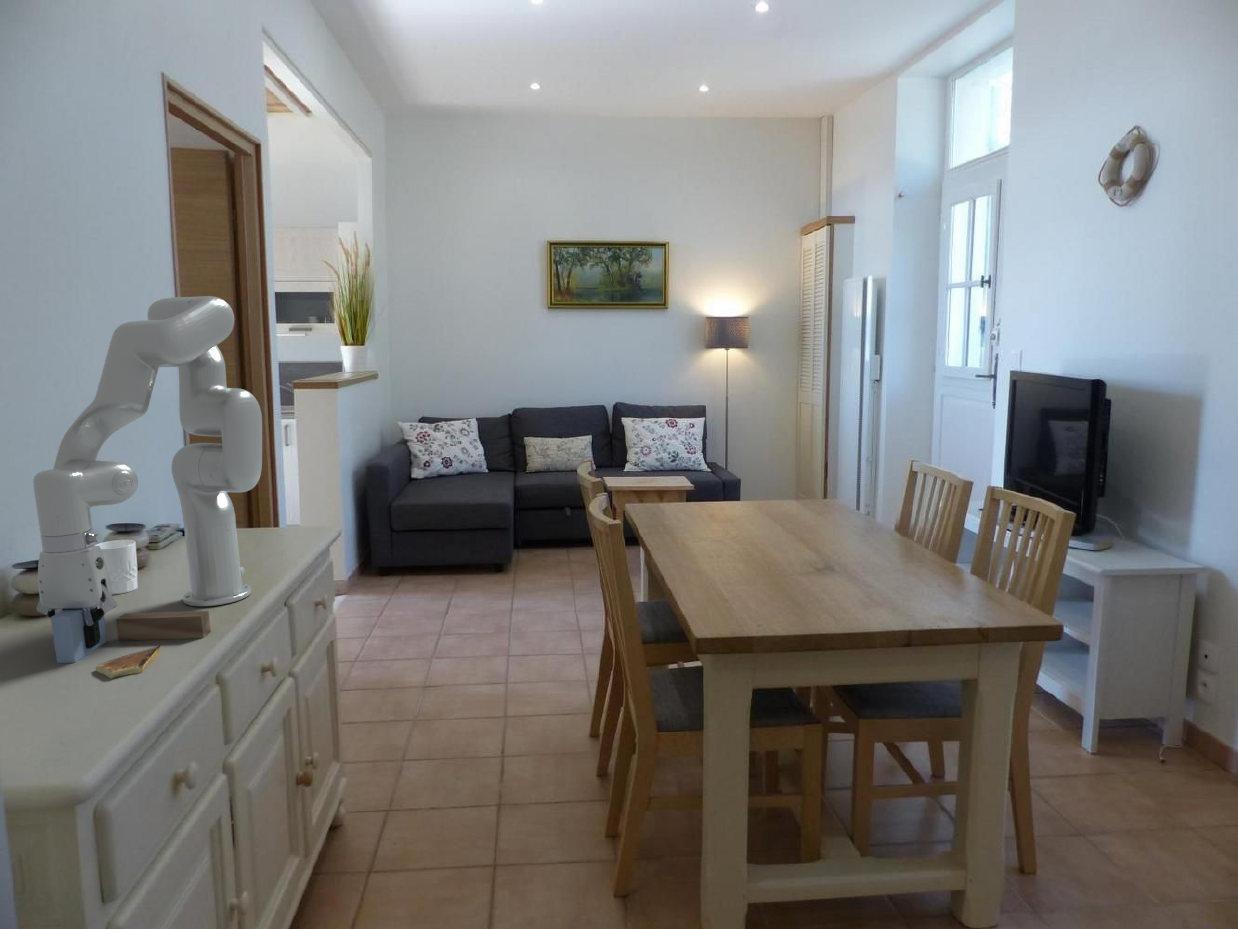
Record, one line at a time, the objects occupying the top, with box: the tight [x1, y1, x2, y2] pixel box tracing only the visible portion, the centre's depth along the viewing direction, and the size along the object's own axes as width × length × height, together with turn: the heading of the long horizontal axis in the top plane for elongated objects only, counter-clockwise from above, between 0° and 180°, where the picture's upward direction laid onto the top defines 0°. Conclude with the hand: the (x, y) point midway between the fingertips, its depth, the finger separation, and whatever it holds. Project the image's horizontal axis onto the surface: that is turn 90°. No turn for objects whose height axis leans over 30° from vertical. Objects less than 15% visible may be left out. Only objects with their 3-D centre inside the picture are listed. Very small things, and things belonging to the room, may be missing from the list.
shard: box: [95, 644, 162, 679], centre depth 150 cm, size 11×8×2 cm
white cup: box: [94, 539, 139, 595], centre depth 193 cm, size 8×8×10 cm
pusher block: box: [50, 601, 108, 664], centre depth 156 cm, size 3×10×8 cm, turn 1°
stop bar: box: [115, 610, 212, 642], centre depth 163 cm, size 3×15×4 cm, turn 91°
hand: (82, 645), depth 157 cm, fingers closed on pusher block, 3 cm apart
